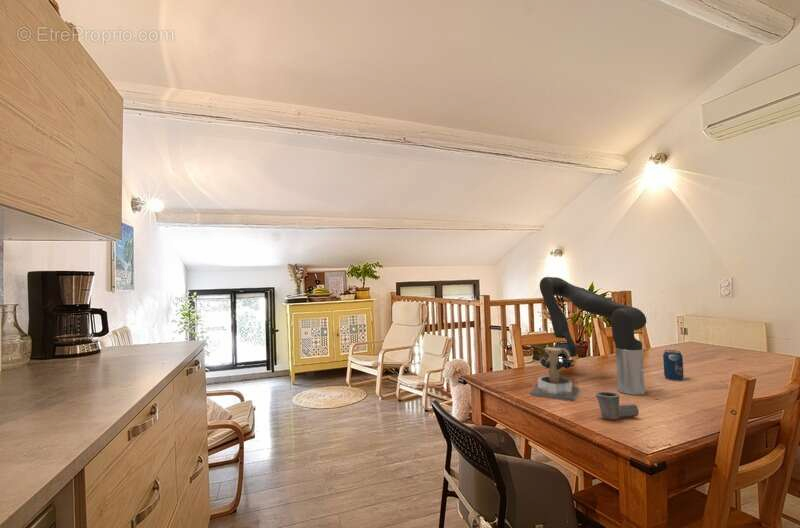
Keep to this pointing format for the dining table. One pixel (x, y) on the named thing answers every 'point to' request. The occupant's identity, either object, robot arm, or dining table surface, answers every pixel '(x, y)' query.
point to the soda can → (673, 365)
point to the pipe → (614, 406)
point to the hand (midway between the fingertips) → (552, 366)
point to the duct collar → (555, 389)
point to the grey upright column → (553, 364)
